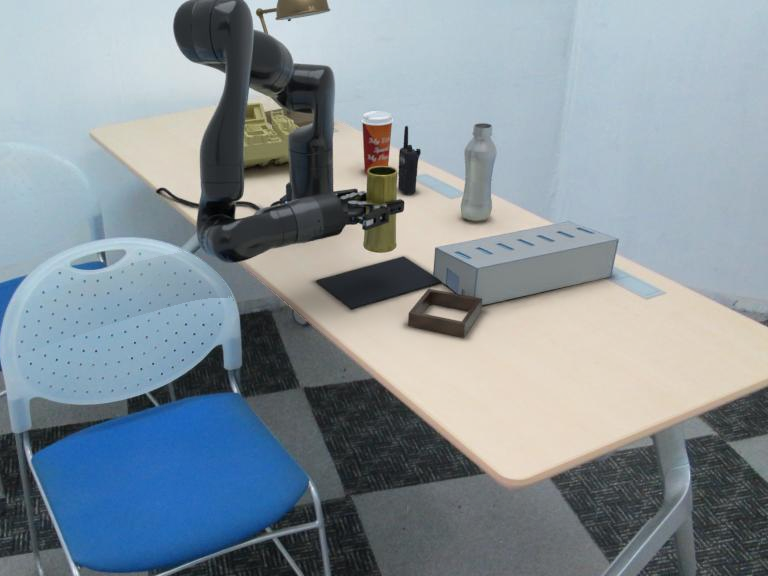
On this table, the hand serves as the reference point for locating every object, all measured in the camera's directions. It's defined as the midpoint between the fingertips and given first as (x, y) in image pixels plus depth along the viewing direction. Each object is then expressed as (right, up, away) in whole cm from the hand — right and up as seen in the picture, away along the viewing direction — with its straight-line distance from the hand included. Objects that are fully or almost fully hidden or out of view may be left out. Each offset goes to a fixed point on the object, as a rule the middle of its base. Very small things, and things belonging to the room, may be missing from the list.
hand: (393, 200), depth 154 cm
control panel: (-29, +25, +67) cm, 77 cm away
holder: (+9, -22, -4) cm, 24 cm away
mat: (-2, -14, +8) cm, 16 cm away
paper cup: (+2, +20, +58) cm, 61 cm away
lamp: (-20, +48, +98) cm, 111 cm away
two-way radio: (+9, +13, +47) cm, 49 cm away
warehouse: (+25, -13, +8) cm, 29 cm away
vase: (-2, -8, +4) cm, 9 cm away
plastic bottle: (+21, +3, +32) cm, 39 cm away
